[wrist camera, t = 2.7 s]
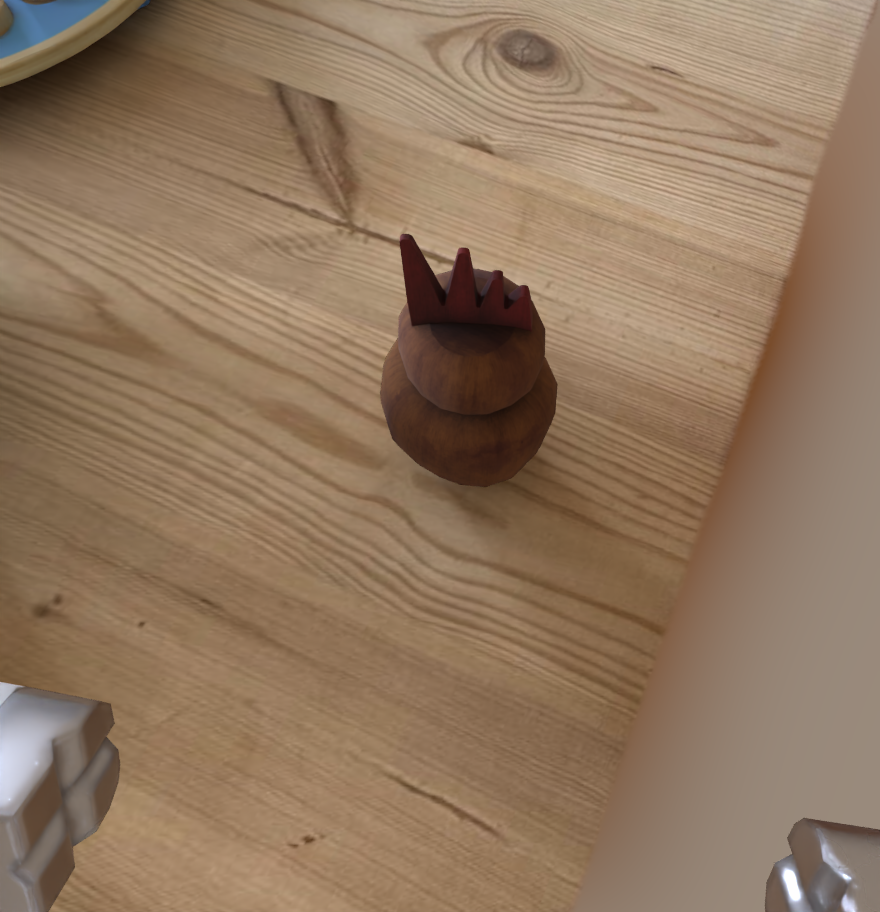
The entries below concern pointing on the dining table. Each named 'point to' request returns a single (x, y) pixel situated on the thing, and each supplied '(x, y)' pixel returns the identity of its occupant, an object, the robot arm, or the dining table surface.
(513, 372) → the wooden figurine
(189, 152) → the dining table surface
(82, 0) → the shape sorting clock
